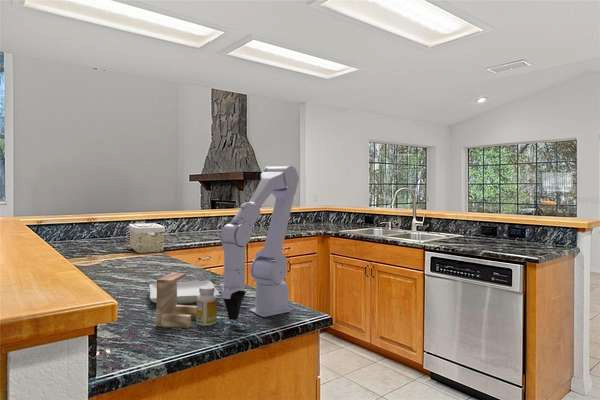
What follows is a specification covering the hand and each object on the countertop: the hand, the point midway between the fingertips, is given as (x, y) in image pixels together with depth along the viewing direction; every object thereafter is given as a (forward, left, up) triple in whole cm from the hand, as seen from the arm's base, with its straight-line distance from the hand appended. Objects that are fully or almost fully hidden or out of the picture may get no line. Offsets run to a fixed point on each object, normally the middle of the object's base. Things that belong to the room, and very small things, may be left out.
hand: (233, 319), depth 110 cm
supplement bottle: (+5, -5, -2) cm, 8 cm away
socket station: (+10, -10, -2) cm, 15 cm away
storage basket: (-22, -145, -2) cm, 147 cm away
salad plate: (0, -34, -2) cm, 34 cm away
